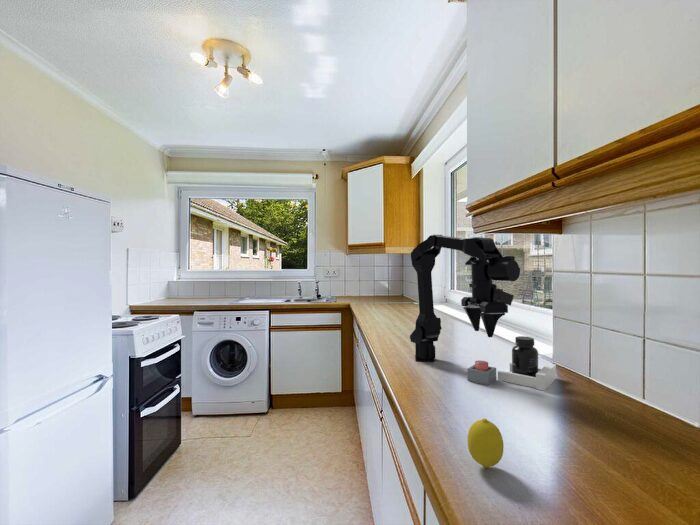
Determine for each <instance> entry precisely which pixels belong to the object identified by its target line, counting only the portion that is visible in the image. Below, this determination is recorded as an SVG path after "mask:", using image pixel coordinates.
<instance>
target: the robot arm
mask: <svg viewBox="0 0 700 525" xmlns="http://www.w3.org/2000/svg"><path fill="white" fill-rule="evenodd" d="M443 248H444V249H450V250H456V251H461V252H463V254H465V255H468V256H470V257H469V259H468V260H467V261H465V264H464V265H466V266H471V283H469V288H471V296H463V297H462V299H461V300H460V302H461V307H462V309H463V310H464V311H465V313H466V316H467V317H468V320H469V321H470V324H471V326H472V328H473V330H474V331H475V332H480V326H481V324H480V323H481V321H482V323H483V326H484V329H485V332H486V334H487V337H488V338H493V336H494V334H495V331H496V330H495V329H496V326H497V323H498V321H499V319H500V318H502V317H503V316H505V315H506V314H508V313H509V306H511V305H512V304H513V300H514V297H515V295H514V294H512V293H509V292H506V291H504V290H503V289H501V288H498V287H497V284H495V283H494V282H493V281H496V282H516V281H517V280H518V279H519V277H520V276H521V268H520V266H519V263H518V262H517V260H516V259H515V258H516V257H515V256H514V255H509V256H508V255H505V256H503V255H502V253H501V251H500V249H498V247H497V246H496V243H495V241H494V239H493V238H491V237H476V236H475V237H466V238H462V237H453V236H448V235H442V234H431V235H429V236H428V237H427V238H426V239H425V240H423V241H422V242H420V243H419V244H417V245H416V247H414V248H413V249H412V251H411V252H410V259H411V265H412V267H413V269H414V270H415V272H416V276H417V278H416V280H417V292H418V307H419V314H418V316H417V317H416V320H415V327H414V328H415V329H414V330H413V331H412V332H411V333H410V335H409V339H410V342H411V343H413V344H414V347H415V348H414V349H415V350H414V351H415V354H414V360H415V361H416V362H417V361H418V362H435V359H436V345H435V344H434V342H438V340H439V336H440V335H441V331H442V329H443V328H442V325H441V323H442V320H441V317H437V315H436V314H435V311H434V310H435V309H434V307H435V306H434V295H433V278H432V277H433V276H432V271H433V269H434V267H435V265H436V258H437V257H438V256H439V255H440V253H441V251H442V249H443Z"/></svg>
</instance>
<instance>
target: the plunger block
mask: <svg viewBox="0 0 700 525" xmlns="http://www.w3.org/2000/svg"><path fill="white" fill-rule="evenodd" d="M466 370H467V372H466V376H467V382H471V383H476V384H479V385H480V384H481V385H485V386H490V385H491V384H493V383H495V382H496V381H497V367H493V366H489V365H488V371H481V370H476V369H475V364H473V365H471V366H469V367H467V369H466Z"/></svg>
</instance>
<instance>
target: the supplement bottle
mask: <svg viewBox="0 0 700 525" xmlns="http://www.w3.org/2000/svg"><path fill="white" fill-rule="evenodd" d="M514 344H515V345H514V346H513V347H512V348H511V363H512V372H511V373H516V374H521V375H526V376H532V377H536V373H537V372H538V367H539V351H538V349H537V348H536V347H534V346H535V338H534V337H530V336H521V335H520V336H516V337H515V343H514Z"/></svg>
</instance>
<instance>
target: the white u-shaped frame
mask: <svg viewBox="0 0 700 525" xmlns="http://www.w3.org/2000/svg"><path fill="white" fill-rule="evenodd" d="M556 379H557V364H554V363H547V364H546V365H545V366H543V367H539V366H538V372H537V373H536V377H532V376H526V375H521V374H516V373H512V362H510V363H509V371H505V370H498V371H497V381H501V382H507V383H511V384H515V385H516V384H517V385H520V386H524V387H529V388H535V389H536V390H540V391H546V390H547V389H549V388H548V387H550V385H551V384H552V383H553V382H554V381H555V380H556Z"/></svg>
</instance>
